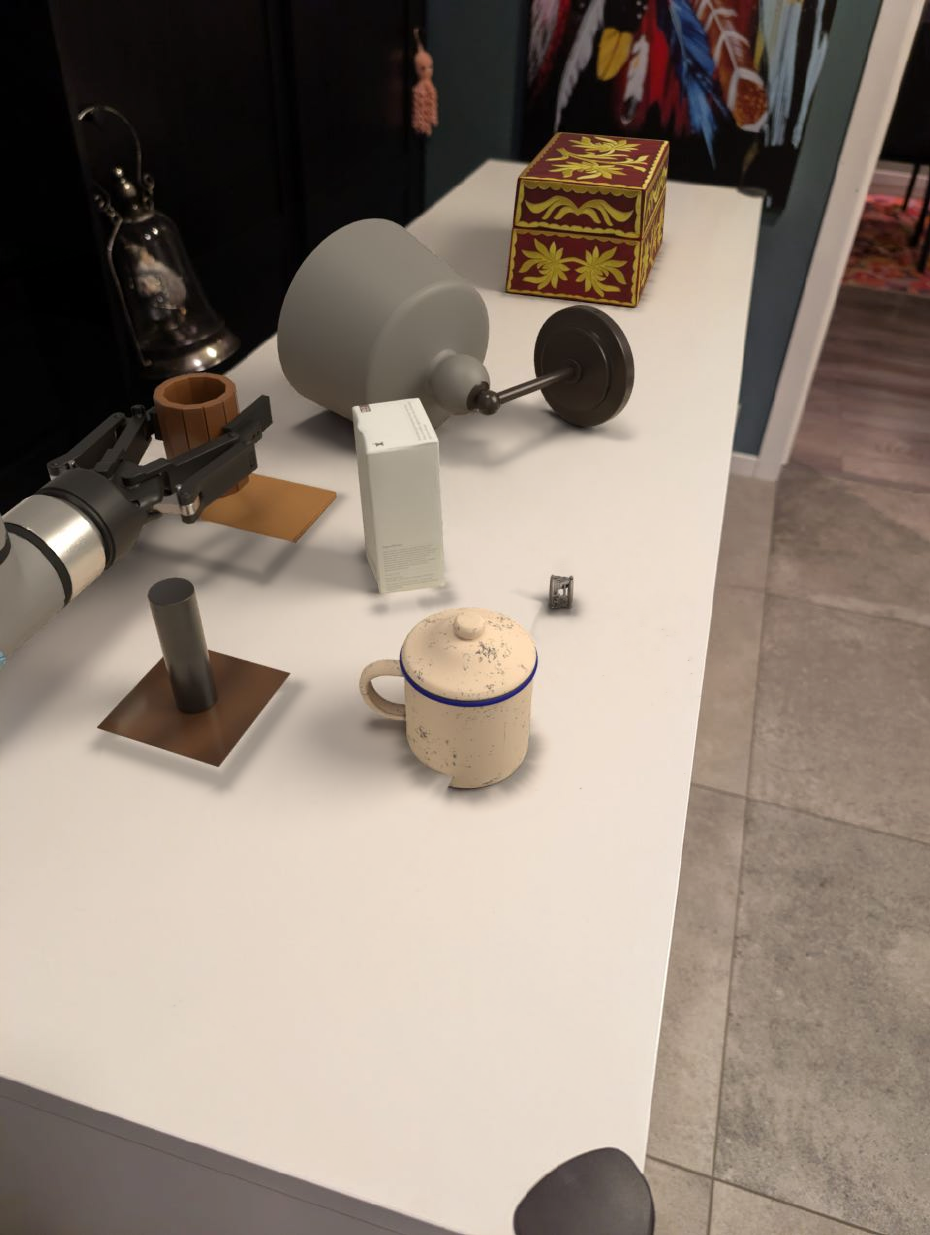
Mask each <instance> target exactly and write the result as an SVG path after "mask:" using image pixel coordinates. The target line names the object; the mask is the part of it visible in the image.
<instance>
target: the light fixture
mask: <svg viewBox="0 0 930 1235" xmlns="http://www.w3.org/2000/svg"><path fill="white" fill-rule="evenodd" d="M278 317H279V318H278V322H277V330H276V331H277V334H276V347H277V355H278V361H279V364H280V367H281V371H282V373H283V375H284V377H285V378H286V381H287V382H288V383H289V385H290V387H291V388H292V389H293V390H294V391H295V392H296V393H297V394H299V395H300V396H301V397H304V398H305V399H307V400H308V401H311V402H313V403H315V404H317V405H319V406H321V407H323V408H325V409H327V410H329V411H331V412H333V413H335V414H336V415H339V416H341V417H343V418H345V419H348V420H349V421H351V422H353V413H352V407H354V406H361V405H367V404H375V403H382V402H389V401H397V400H404V399H413V398H419V399H420V401H421V403H422V405H423V407H424V409H425V411H426V414H427V416H428V418H429V420H430V422H431V424H432V427H433V429H434V430H435V429H436V428H437V427H439V426H440V425H442V423H444V422H446V421H447V419H448V418H450V417H451V415H455V416H466V415H469V414H472V413H474V412H476V411H478V412H479V413H480V414H481V415H483V416H493V415H495V414H496V413H497V412H498V411H499V410H500V408H501V406H502V405H504V404H507V403H509V402H511V401H512V402H513V401H515V400H516V399H520V398H522V397H524V396H527V395H530V394H532V393H536V392H538V391H540V393H541V395H542V396H543V398H544V400H545V401H546V403H547V404H548V406H549V407H550V409H552V410H553V412H554V413H555V414H557V415H558V416H559V417H560V418H561V419H562V420H564V421H566V422H568V423H570V424H572V425H575V426H577V427H584V428H591V427H598V426H600V425H602V424H605V423H607V422H609V421H611V420H613V419H615V418H616V417H617V416H618V415H619V414H620V413H622V411H623V410H624V409H625V407H626V406H627V404H628V403H629V400H630V398H631V396H632V393H633V389H634V384H635V375H636V374H635V372H636V371H635V370H636V368H635V360H634V355H633V352H632V351H633V350H632V348H631V345H630V343H629V340H628V338H627V336H626V334H625V332H624V331H623V330H622V328H621V327H620V325H619V324H618V323H617V322H616V320H614V319H613V317H611V316H610V315H609V314H608V313H606V312H605V311H603V310H602V309H599V308H597V307H595V306H592V305H588V304H587V305H586V304H576V305H569V306H568V307H564V308H562V309H560V310H556V311H555V312H553V313H552V314H551V315H550V316H549V317H548V318H546V320H545V321H544V322H543V323H542V325H541V327H540V328H539V330H538V333H537V336H536V339H535V343H534V347H533V367H534V368H533V369H534V374H535V377H534V378H533V379H530V380H527V381H525V382H521V383H519V384H516V385H513V386H511V387H509V388H506V389H503V390H500V391H497V392H496V391H494V390H491V378H490V374H489V372H488V369H487V368H486V366H485V365H484V362H485V359H486V356H487V352H488V347H489V340H490V317H489V312H488V307H487V306H486V303H485V301H484V299H483V297H482V295H481V294H480V292H479V291H478V290H477V289H476V288H475V287H474V286H473V285H472V284H471V283H469V282H468V281H467V280H466V279H465V278H464V277H462V276H461V275H460V274H459V273H458V272H457V271H455V270H454V269H453V268H452V267H451V266H449V265H448V264H447V263H446V262H445V261H443V260H442V259H441V258H440V257H439V256H438V255H436V254H435V253H434V252H433V251H432V250H431V249H430V248H428V247H427V245H425V244H424V243H422V241H420V240H419V239H417V237H416V236H414V235H413V234H412V233H411V232H410V231H408V230H407V229H406V228H405V227H403V226H402V225H401V224H399V223H397V222H394V221H393V220H389V219H385V218H377V217H376V218H375V217H374V218H365V219H364V218H363V219H360V220H357V221H353V222H351V223H348V224H346V225H344V226H342V227H340V228H338V229H337V230H336V231H334V232H332V233H330V235H328V236H327V237H326V238H325V239H323V240H322V241H321V242H320V243H319V244H318V245H317V246H316V247H315V248H314V249H313V250H312V251H311V252H310V254H309V255H308V256H307V257H306V258H305V260H304V261H303V262H302V264H301V265H300V267H299V269H298V270H297V271H296V272H295V275H294V277H293V278H292V281H291V283H290V285H289V287H288V289H287V291H286V293H285V296H284V299H283V303H282V305H281V308H280V313H279V316H278Z"/></svg>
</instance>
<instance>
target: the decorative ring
mask: <svg viewBox="0 0 930 1235" xmlns="http://www.w3.org/2000/svg"><path fill="white" fill-rule="evenodd" d="M548 590H549V591H548V608H549V609H552V608H555V609H556V608H567V610H571V609H572V607H573V600H574V599H573V598H574V576H573V575H569V576H560V575H555V574H551V576H550V578H549V589H548ZM559 590H562V594H560V593H559Z"/></svg>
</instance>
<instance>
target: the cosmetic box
mask: <svg viewBox="0 0 930 1235" xmlns="http://www.w3.org/2000/svg"><path fill="white" fill-rule="evenodd" d="M352 413H353V421H352V422H353V432H354V441H355V442H354V443H355V453H356V464H357V474H358V482H359V483H358V485H359V494H360V504H361V514H362V523H363V534H364V545H365V555H366V559H367V561H368V565H369V568H370V570H371V572H372V575H373V577H374V579H375V582H376V584H377V589H378V594H380V595H385V594H394V593H401V592H408V591H415V590H422V589H423V590H424V589H431V588H438V587H439V588H440V587H445V586H446V575H445V574H446V572H445V552H444V533H443V532H444V530H443V512H442V511H443V510H442V496H441V495H442V491H441V490H442V489H441V474H440V471H441V470H440V449H439V446H440V445H439V444H440V442H439V441H440V440H439V439H438V436H437V434H436V432H435V428H434V429H433V427H432V424H431V422H430V420H429V418H428V416H427V414H426V411H425V409H424V407H423V405H422V403H421V401H420V399H419V398H413V399H404V400H397V401H389V402H382V403H375V404H367V405H361V406H354V407H352Z"/></svg>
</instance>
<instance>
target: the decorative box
mask: <svg viewBox="0 0 930 1235" xmlns="http://www.w3.org/2000/svg"><path fill="white" fill-rule="evenodd" d="M669 156H670V141H669V140H661V139H649V138H639V137H638V138H637V137H623V136H613V135H602V134H601V135H600V134H589V133H588V134H586V133H574V132H562V131H561V132H556V133H555V134H554V135H553V136H552V137H551V138H550V139H549V140H548V141H547V143H546V144H545V145H544V146H543V148H541V150H539V152H538V153H537V154H536V156H535V157H533V159H532V160H531V161H530V163H528V165H527V166H526V167H525V168H524V169H523V170H522V171H521V173H520V174H519V175H518V177H517V180H516V188H515V196H514V204H513V205H514V206H513V216H512V224H511V226H512V228H511V234H510V241H509V242H510V243H509V251H508V252H509V253H508V262H507V270H506V280H505V288H504V289H505V292H506V293H512V294H518V295H519V294H520V295H527V296H528V295H530V296H536V297H537V296H538V297H546V298H553V299H554V298H555V299H562V300H570V301H579V302H587V303H588V302H589V303H596V304H605V305H613V306H621V307H633V308H634V307H635V308H636V307H637V306H638V305H639V302H640V300H641V298H642V295H643V292H644V290H645V288H646V284H647V282H648V279H649V277H650V274H651V272H652V270H653V266H654V264H655V261H656V259H657V256H658V253H659V251H660V249H661V246H662V243H663V237H664V227H665V226H664V224H665V211H666V198H667V196H666V195H667V183H668V182H667V181H668V171H669V170H668V169H669Z"/></svg>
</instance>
